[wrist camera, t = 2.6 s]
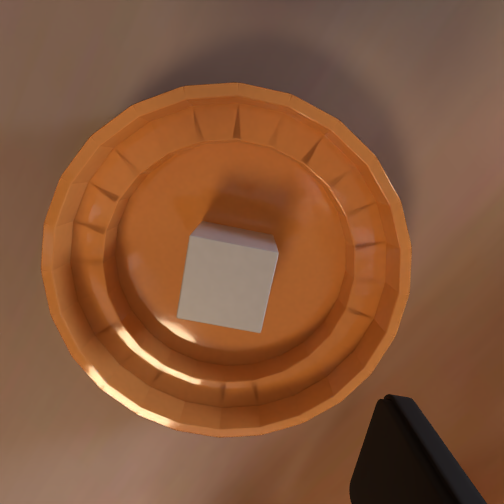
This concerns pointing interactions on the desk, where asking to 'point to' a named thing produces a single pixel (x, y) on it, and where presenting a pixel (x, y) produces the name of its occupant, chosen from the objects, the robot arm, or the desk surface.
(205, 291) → the block
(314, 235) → the bowl
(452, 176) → the desk surface
